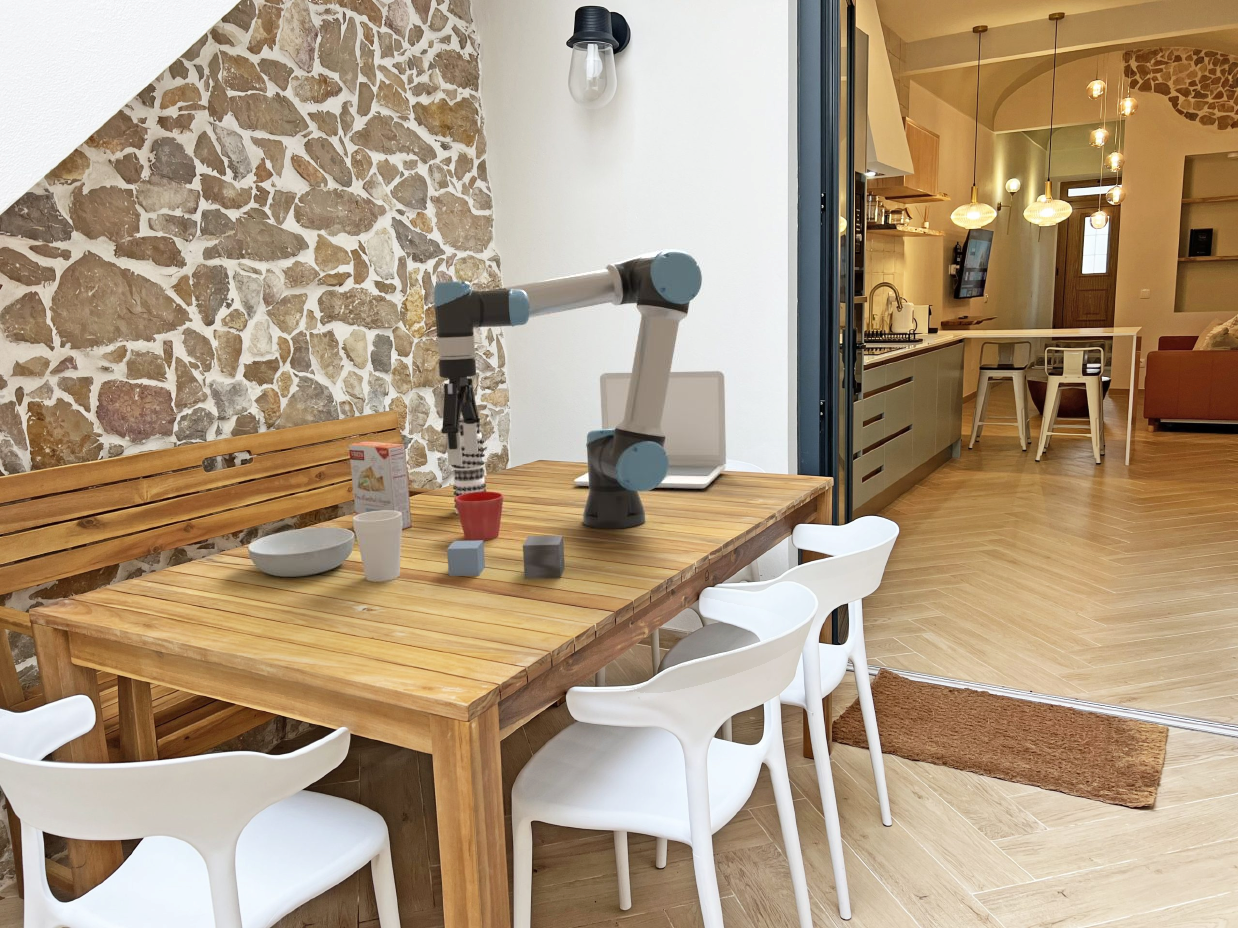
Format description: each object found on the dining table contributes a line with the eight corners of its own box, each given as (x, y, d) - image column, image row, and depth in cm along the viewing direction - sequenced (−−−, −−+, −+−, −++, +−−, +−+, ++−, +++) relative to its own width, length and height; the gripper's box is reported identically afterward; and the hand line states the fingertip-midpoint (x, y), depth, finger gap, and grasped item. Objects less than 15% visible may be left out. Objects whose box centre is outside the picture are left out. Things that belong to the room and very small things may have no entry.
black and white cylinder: (492, 506, 245) (486, 413, 240) (484, 514, 236) (477, 418, 231) (459, 507, 246) (452, 414, 241) (449, 515, 236) (442, 419, 232)
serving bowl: (249, 566, 196) (246, 535, 195) (350, 552, 204) (347, 522, 203) (252, 593, 177) (248, 558, 176) (363, 576, 185) (360, 543, 184)
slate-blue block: (485, 568, 187) (483, 540, 186) (479, 577, 181) (477, 548, 180) (456, 569, 187) (454, 541, 186) (449, 578, 181) (446, 548, 180)
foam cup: (416, 574, 185) (411, 511, 182) (390, 588, 176) (384, 522, 174) (375, 571, 188) (370, 509, 186) (348, 585, 179) (342, 520, 177)
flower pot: (497, 543, 207) (494, 501, 205) (451, 542, 209) (448, 500, 207) (511, 531, 217) (509, 491, 215) (467, 531, 219) (465, 491, 217)
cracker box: (355, 527, 228) (347, 444, 224) (373, 521, 233) (366, 440, 229) (394, 533, 220) (387, 447, 216) (412, 527, 225) (406, 443, 221)
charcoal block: (564, 569, 184) (563, 535, 183) (560, 579, 178) (558, 544, 176) (530, 569, 185) (528, 536, 184) (524, 580, 178) (522, 545, 177)
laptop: (572, 486, 268) (567, 381, 263) (605, 467, 297) (601, 372, 292) (706, 489, 256) (703, 379, 251) (727, 469, 285) (725, 370, 280)
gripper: (454, 354, 202) (461, 449, 206) (421, 362, 178) (429, 470, 181) (488, 353, 201) (494, 449, 205) (459, 361, 177) (466, 469, 181)
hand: (463, 459), depth 193 cm, fingers open, 13 cm apart
